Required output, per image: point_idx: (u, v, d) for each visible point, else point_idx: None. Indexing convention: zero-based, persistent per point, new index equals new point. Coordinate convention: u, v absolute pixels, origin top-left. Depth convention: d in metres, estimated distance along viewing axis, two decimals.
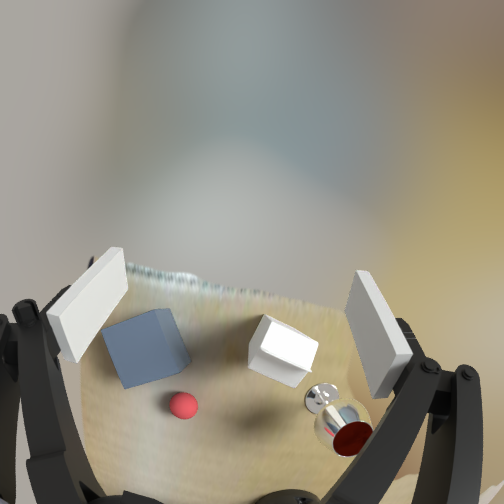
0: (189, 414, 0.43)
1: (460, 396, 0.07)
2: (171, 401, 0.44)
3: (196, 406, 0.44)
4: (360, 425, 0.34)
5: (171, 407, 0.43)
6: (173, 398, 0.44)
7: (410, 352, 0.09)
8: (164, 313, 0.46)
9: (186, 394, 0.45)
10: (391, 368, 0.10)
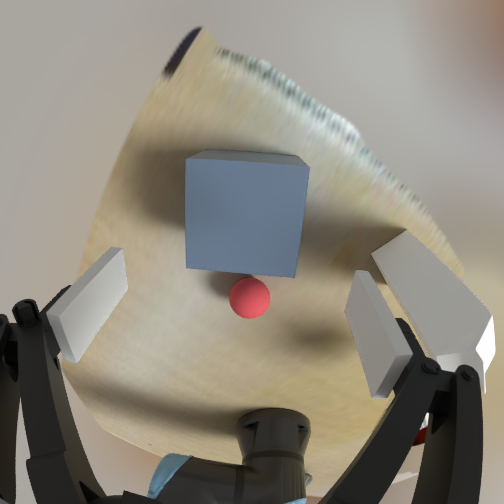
0: (255, 316, 0.35)
1: (460, 396, 0.07)
2: (239, 290, 0.34)
3: None
4: None
5: (235, 299, 0.34)
6: (243, 287, 0.34)
7: (410, 352, 0.09)
8: None
9: (263, 287, 0.35)
10: (391, 368, 0.10)
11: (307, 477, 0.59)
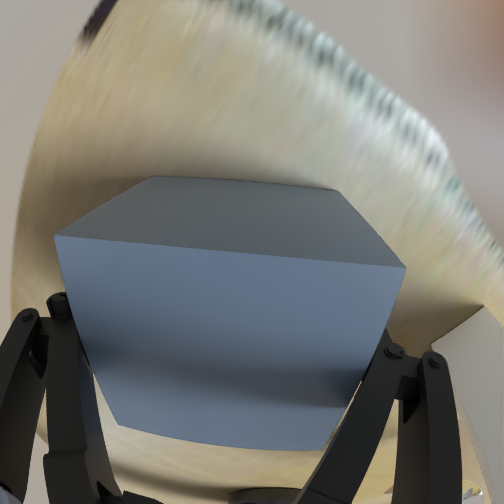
0: None
1: (429, 384, 0.08)
2: None
3: None
4: None
5: None
6: None
7: None
8: None
9: None
10: None
11: None
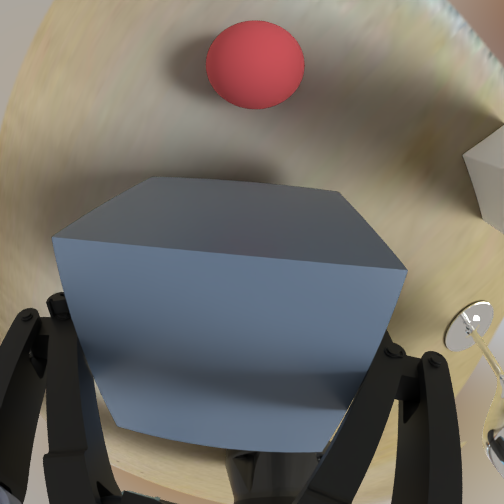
0: None
1: (429, 384, 0.08)
2: None
3: None
4: None
5: None
6: None
7: None
8: None
9: (282, 100, 0.13)
10: None
11: None
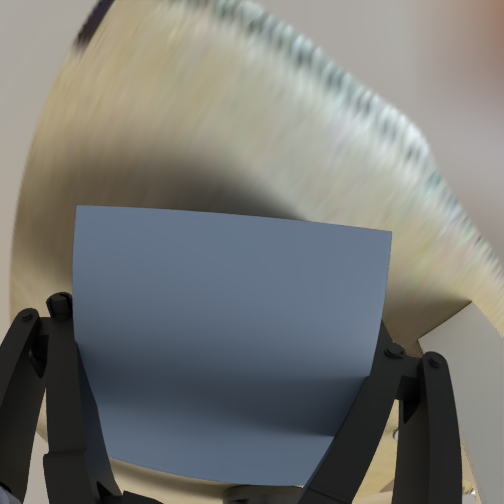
0: None
1: (429, 384, 0.08)
2: None
3: None
4: None
5: None
6: None
7: None
8: None
9: None
10: None
11: None
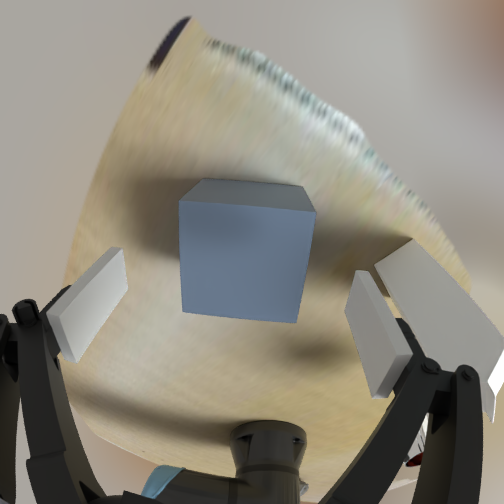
0: None
1: (460, 396, 0.07)
2: None
3: None
4: None
5: None
6: None
7: (410, 352, 0.09)
8: None
9: None
10: (391, 368, 0.10)
11: (303, 486, 0.56)
